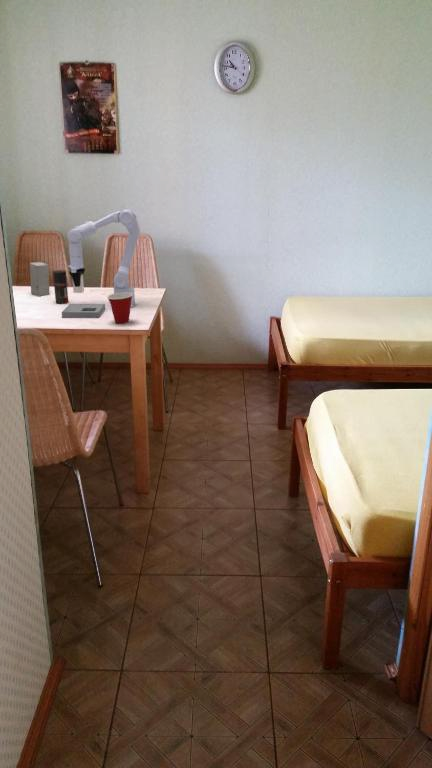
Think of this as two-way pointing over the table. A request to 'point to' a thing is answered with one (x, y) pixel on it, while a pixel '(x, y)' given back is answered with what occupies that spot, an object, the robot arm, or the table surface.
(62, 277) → the deodorant
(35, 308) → the table surface
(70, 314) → the outlet plate
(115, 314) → the plastic cup
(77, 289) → the beige rectangular block
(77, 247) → the robot arm
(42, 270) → the skincare box
